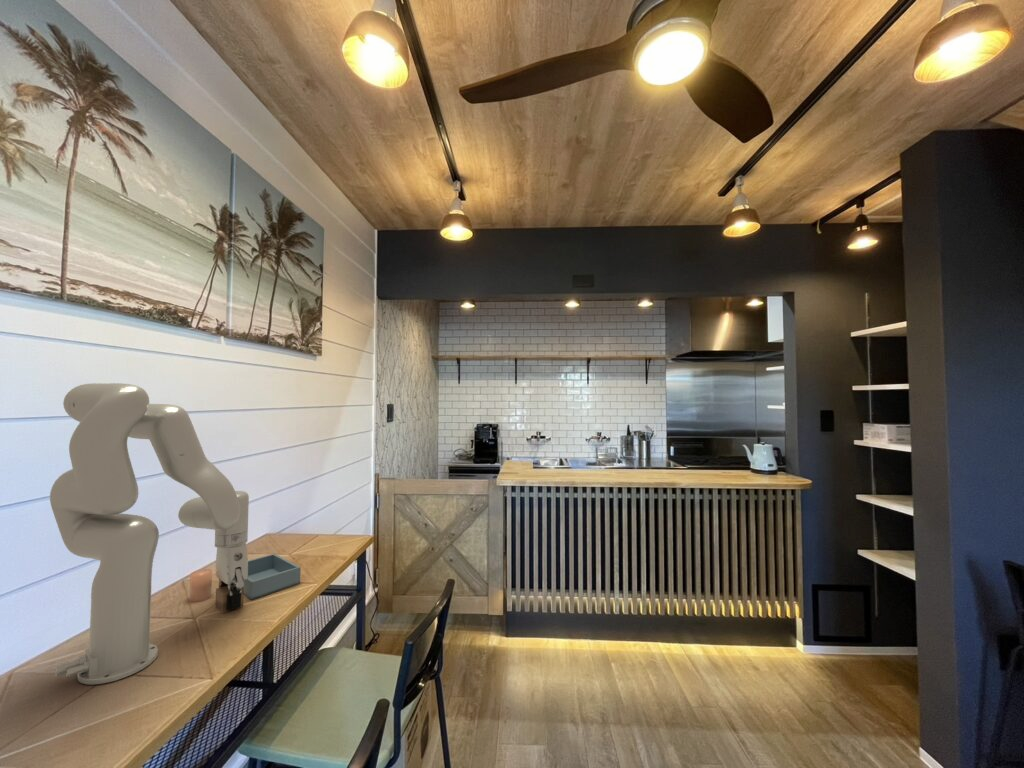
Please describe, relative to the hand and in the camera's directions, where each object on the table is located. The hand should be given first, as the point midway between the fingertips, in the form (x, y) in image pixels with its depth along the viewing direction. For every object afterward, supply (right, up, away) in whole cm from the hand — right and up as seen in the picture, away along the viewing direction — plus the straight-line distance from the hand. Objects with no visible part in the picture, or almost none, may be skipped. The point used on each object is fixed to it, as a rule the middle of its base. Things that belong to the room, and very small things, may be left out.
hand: (229, 604), depth 116 cm
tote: (+1, -1, +14) cm, 14 cm away
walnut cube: (0, -1, 0) cm, 1 cm away
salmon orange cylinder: (-11, 0, +5) cm, 12 cm away
